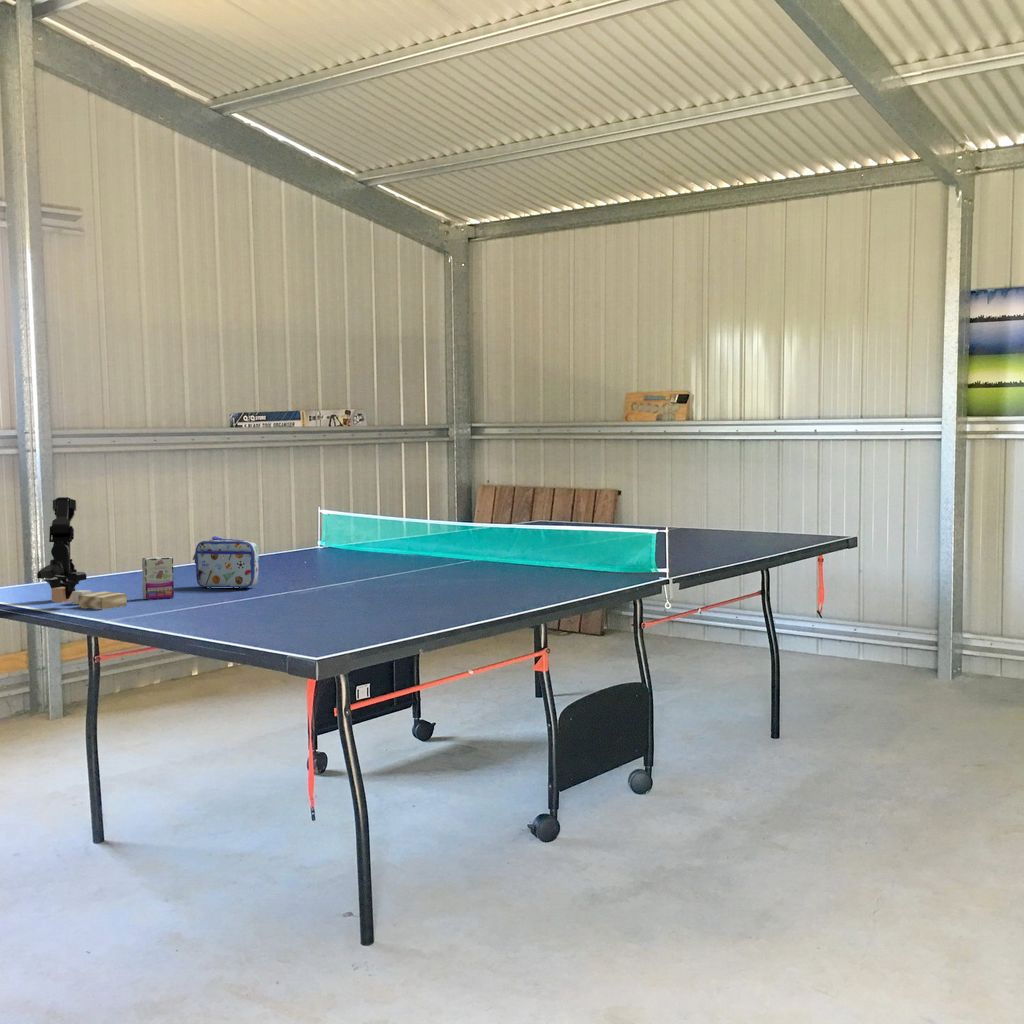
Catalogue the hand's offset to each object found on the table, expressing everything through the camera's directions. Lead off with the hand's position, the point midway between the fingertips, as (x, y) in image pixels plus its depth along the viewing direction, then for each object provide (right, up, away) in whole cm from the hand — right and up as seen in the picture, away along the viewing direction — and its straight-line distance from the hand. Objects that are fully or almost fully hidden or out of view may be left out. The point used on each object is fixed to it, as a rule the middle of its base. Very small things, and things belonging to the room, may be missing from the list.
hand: (62, 598), depth 398 cm
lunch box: (+45, -1, +61) cm, 76 cm away
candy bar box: (+26, -3, +29) cm, 39 cm away
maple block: (+13, -4, +6) cm, 15 cm away
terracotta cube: (0, -1, 0) cm, 1 cm away
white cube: (+3, -3, +12) cm, 13 cm away
